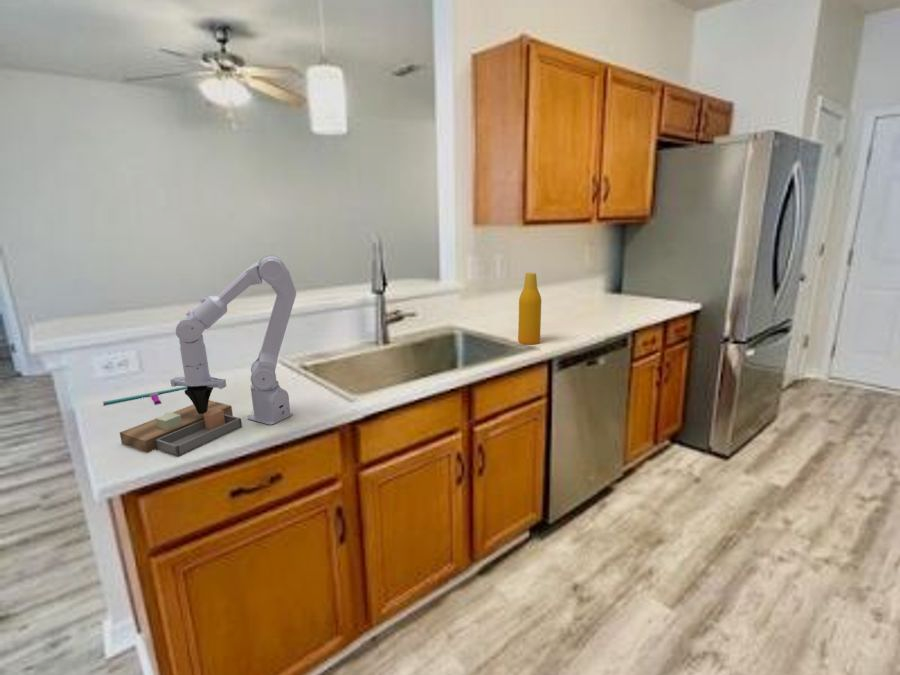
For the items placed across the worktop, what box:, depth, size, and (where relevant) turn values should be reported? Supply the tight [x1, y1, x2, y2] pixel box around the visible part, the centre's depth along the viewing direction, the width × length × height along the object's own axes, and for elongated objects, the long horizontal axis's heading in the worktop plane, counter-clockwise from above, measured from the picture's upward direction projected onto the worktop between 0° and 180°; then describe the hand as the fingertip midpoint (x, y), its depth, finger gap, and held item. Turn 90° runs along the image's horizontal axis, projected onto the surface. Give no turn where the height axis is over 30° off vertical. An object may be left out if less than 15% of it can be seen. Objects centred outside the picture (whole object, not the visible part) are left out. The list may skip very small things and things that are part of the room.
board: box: [119, 399, 234, 454], centre depth 130 cm, size 10×24×3 cm, turn 152°
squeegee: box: [102, 386, 188, 406], centre depth 152 cm, size 29×2×10 cm
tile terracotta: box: [203, 409, 225, 430], centre depth 130 cm, size 4×4×2 cm
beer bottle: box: [517, 272, 542, 346], centre depth 205 cm, size 9×9×29 cm
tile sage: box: [155, 411, 182, 430], centre depth 124 cm, size 4×4×2 cm
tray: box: [155, 414, 243, 458], centre depth 124 cm, size 8×18×2 cm, turn 152°
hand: (202, 412), depth 130 cm, fingers closed
